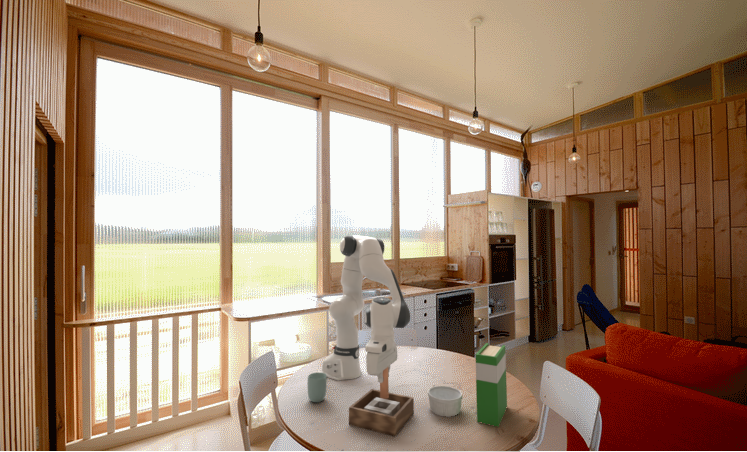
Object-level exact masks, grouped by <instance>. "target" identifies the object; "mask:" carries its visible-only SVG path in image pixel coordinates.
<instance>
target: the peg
mask: <svg viewBox="0 0 747 452" xmlns="http://www.w3.org/2000/svg"><path fill="white" fill-rule="evenodd" d="M382 375H383V377H384V382H382V383H379V391H380V398H382V399H387V398H389V393H390V391H389V389H390V388H389V377H388V367H387V368H386V369H385V370H383V373H382Z"/></svg>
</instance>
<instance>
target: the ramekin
mask: <svg viewBox="0 0 747 452" xmlns="http://www.w3.org/2000/svg"><path fill="white" fill-rule="evenodd" d="M427 396H428V403H429V409H430V411H432V413H433V412H434V413H433V414H434V415H436V414H437V415H436V416H439V415H440V416H439V417H443V416H446V417H445V418H451V416H453V417H455V415H456V416H457V414H458V415H459V414H460V412H461V410H462V400H463V392H462V391H461V390H460V389H459V388H456V387H453V386H450V385H435V386H431V387H430V388H429V389H428V390H427Z"/></svg>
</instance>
